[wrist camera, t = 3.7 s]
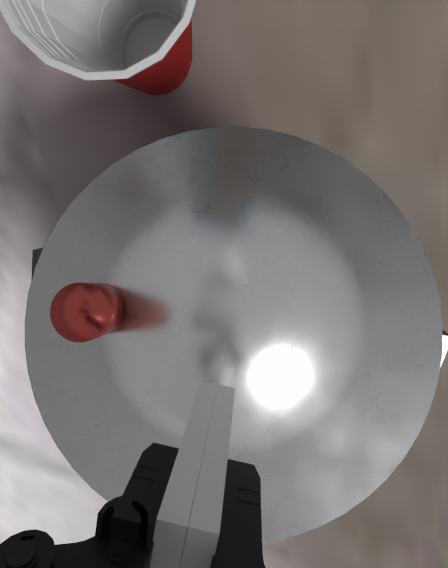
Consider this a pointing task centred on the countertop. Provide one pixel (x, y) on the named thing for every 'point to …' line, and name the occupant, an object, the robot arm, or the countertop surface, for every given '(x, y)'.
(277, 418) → the cooker lid
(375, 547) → the countertop surface
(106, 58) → the plastic cup
